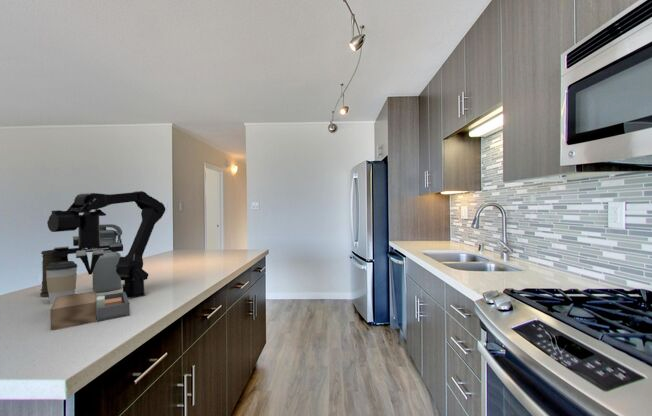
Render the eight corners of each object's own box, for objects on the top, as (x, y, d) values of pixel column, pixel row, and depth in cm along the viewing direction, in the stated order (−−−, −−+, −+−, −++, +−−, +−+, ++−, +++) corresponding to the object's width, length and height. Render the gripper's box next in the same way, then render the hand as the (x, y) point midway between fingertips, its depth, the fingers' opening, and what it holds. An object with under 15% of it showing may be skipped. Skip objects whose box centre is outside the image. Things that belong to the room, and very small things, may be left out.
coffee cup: (59, 298, 114) (58, 259, 114) (84, 297, 114) (83, 259, 114) (38, 305, 105) (38, 264, 105) (65, 304, 105) (64, 263, 105)
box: (125, 302, 106) (125, 291, 106) (129, 315, 93) (129, 303, 93) (97, 307, 101) (96, 296, 101) (97, 322, 88) (96, 308, 88)
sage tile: (97, 312, 94) (104, 310, 96) (96, 316, 90) (104, 314, 92) (96, 296, 94) (104, 295, 96) (96, 300, 90) (104, 299, 92)
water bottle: (124, 285, 132) (123, 223, 132) (119, 290, 123) (118, 224, 123) (96, 288, 127) (95, 224, 127) (89, 293, 119) (88, 225, 119)
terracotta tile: (103, 300, 101) (103, 305, 101) (103, 303, 97) (103, 309, 97) (121, 297, 104) (121, 302, 104) (121, 300, 100) (122, 306, 100)
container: (35, 296, 117) (34, 251, 117) (62, 290, 125) (62, 248, 125) (48, 298, 113) (47, 252, 114) (75, 291, 122) (74, 249, 122)
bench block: (95, 308, 101) (95, 290, 101) (95, 321, 88) (95, 302, 88) (56, 315, 95) (56, 296, 95) (50, 330, 82) (50, 309, 82)
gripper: (119, 226, 113) (120, 266, 113) (53, 230, 100) (54, 275, 101) (122, 228, 104) (124, 271, 104) (51, 231, 92) (52, 280, 92)
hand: (90, 274), depth 101 cm, fingers closed
